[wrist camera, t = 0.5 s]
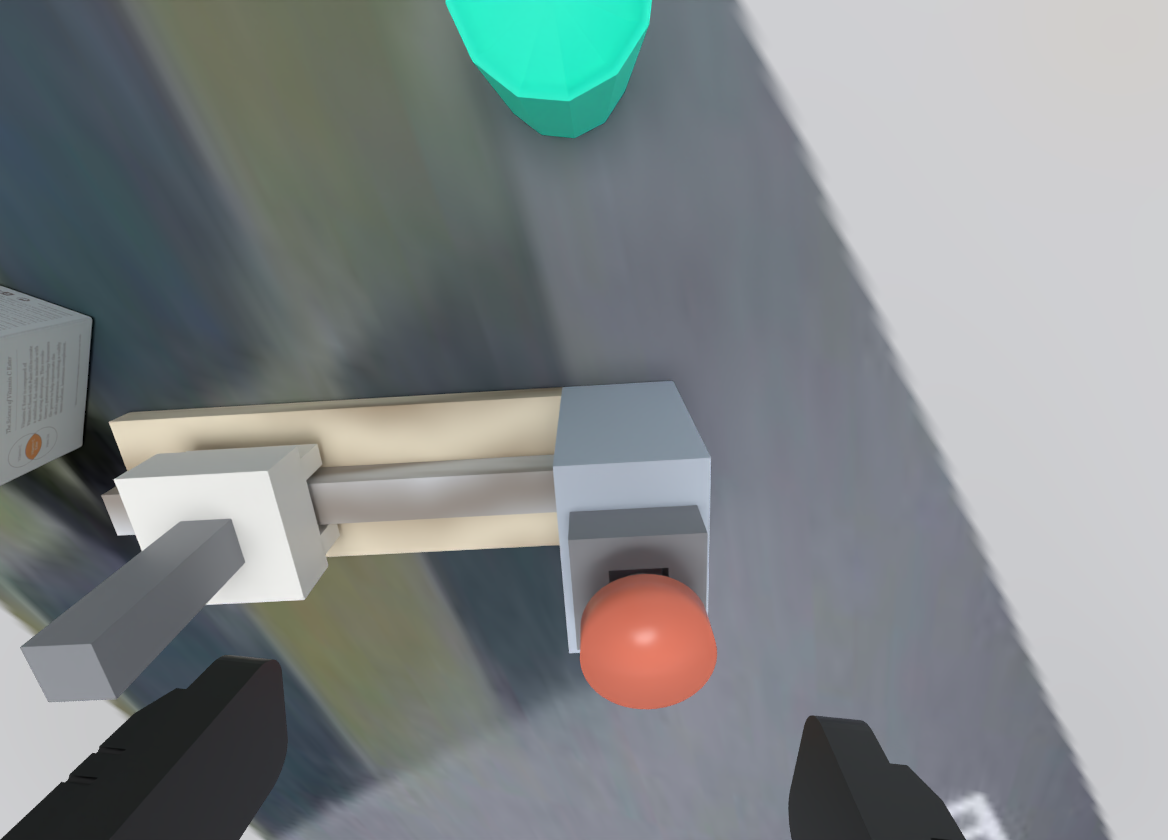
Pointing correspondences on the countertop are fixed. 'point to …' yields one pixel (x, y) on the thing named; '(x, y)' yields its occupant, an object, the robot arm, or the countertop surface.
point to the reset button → (646, 642)
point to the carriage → (188, 561)
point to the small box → (40, 381)
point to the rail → (390, 464)
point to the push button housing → (629, 491)
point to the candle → (555, 56)
